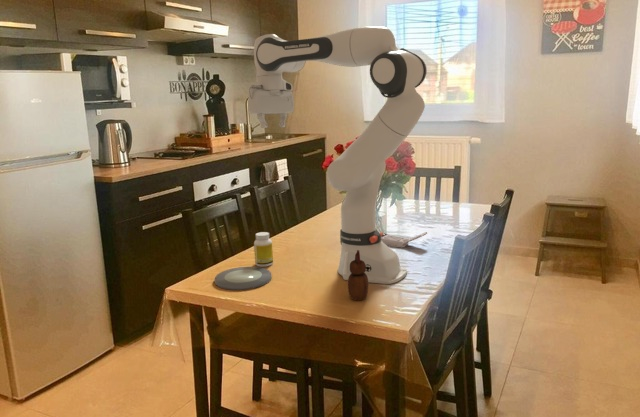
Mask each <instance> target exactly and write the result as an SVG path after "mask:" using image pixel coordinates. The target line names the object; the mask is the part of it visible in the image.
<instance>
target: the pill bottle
mask: <svg viewBox="0 0 640 417" xmlns="http://www.w3.org/2000/svg"><path fill="white" fill-rule="evenodd" d="M273 251H274V250H273V241H272V239H271V238H270V232H267V231H260V232H257V233H255V240H254V242H253V252H254V262H255V265H256V267H260V268H264V267H270V266H272V265H273V264H274V254H273Z"/></svg>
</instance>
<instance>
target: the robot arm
mask: <svg viewBox="0 0 640 417" xmlns="http://www.w3.org/2000/svg"><path fill="white" fill-rule="evenodd" d="M396 45H397V44H396V39H395V36H394V33H393V32H392V30H390V29H389V28H387V27H386V26H358V27H354V28H348V29H344V30H340V31H337V32H333V33H330V34H325V35H321V36H317V37H311V38H304V39H296V40H285V39H283V38H281V37H279V36H278V35H276V34H274V33H267V34H263V35H260V36H258V37H257V38H255V40H254V45H253V62H254V66H255V69H256V74H255V81H256V84H252V85H251V86H250V87H249V88H248V96H247V97H248V98H247V108H248V112H249V114H250V115H257V119H258V121H259V124H260V129H261V128H262V129H265V128H268V127H269V126H268V125H269V124H268V121H266V119H265V117H266V115H272V114H273V115H274V114H275V115H276V114H277V115H278V114H279V117H280V120H279V121H278V126H279V128H285V127H286V126H287V125H286V121H287V117H288V114H292V113H293V112H294V111H295V101H294V100H295V99H294V94H293V92H292V91H293V90H294V86H293V84H291V82H289V81H287V80H285V79H283V74H284V73H297V72H299V71H301V70H302V69H303V68H304V67H305V65H306V62H319V63H320V62H321V63H323V64H324V63H325V64H329V65H333V66H340V67H347V68H348V67H349V68H350V67H351V68H355V67H365V66H369V76H370V80H371V81H372V83H373V85H374V86H376V88H377V89H378V90H379V92H380V94H381V96H382V97H383V98H387V99H386V101H385V103H384V105H383V106H382V107H381V108H380V110H379V111H378V112H377V114H376V115H375V116H374V118H373V119H372V120H371V121H370V123H369V124H368V125H367V127H366V128H365V130H364V131H362V133H361V134H360V135H359V136H358V137H357V138H356V139H355V140H354V141H353V142H352V143H351V144H350V145H348V147H347V148H346V149H345V150H344V151H343V152H342V153H341V154H340V155H339V156H337V158H335V159H334V160H333V161H332V162H331V163H330V164H329V165H328V167H327V168H326V179H327V182H328V184H329V186H331V187H332V188H333V189H334V190H336V191H341V192H346V193H345V197H344V200H343V201H342V203H341V204H340V205H341V206H340V220H341V221H340V223H341V224H340V225H341V226H340V227H341V229H340V231H339V232H340V233H339V236H340V238H339V239H340V245H341V247H340V258H339V265H338V268H337V273H338V274H339V275H340V276H342V279H343V280H344V281H348V278H349V276H350V274H351V272H350V263H351V261H353V260H355V254H356V253H357V250H359V253H360V260H362V261H364V262H365V265H366V271H365V272H364V273H365V274H366V275H367V277H368V283H371V284H373V283H374V284H383V285H385V284H386V285H390V284H395V283H397V282H399V281H401V280H403V279H404V278H405V277H406V276H407V274H408V270H407V269H408V268H406V267H403V266H401V264H400V259H399V255H398V253H397V252H396V251H394V250H393V249H391V248H390V247H389V246H388V245H386V244H384V243H383V242H382V241H381V236H382V235H383V233H384V231H381V232H379V231H378V229H377V226H376V225H377V224H376V222H377V221H376V220H377V218H376V216H377V215H376V214H377V213H376V212H377V211H376V208H377V201H378V200H377V199H378V193H379V189H380V186H381V180H382V178H383V176H384V174H385V172H386V168H387V165H386V163H387V162H386V161H387V159H389V158H390V157H391V156H393V154H394V153H395V152H396V151H397V149H398V148H399V147H400V146H401V144H402V143H403V142H404V141H405V140H406V138H407V137H408V136H409V134H410V133H411V132H412V131H413V129H414V128H415V126H416V125H417V124H418V122H419V120H420V119H421V117H422V115H423V112H424V111H425V106H426V105H425V101H424V99H423V97H422V96H421V94H419V92H417V90H416V89H417V88H418V87H420V86H421V85H422V84H423V83H424V81H425V79H426V77H427V65H426V63H425V61H424V59H423V58H421V57H420V56H419V55H417V54H415V52H411V51H409V50H407V49H405V48H403V47H402V48H398V47H397V46H396Z"/></svg>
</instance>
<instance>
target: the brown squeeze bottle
mask: <svg viewBox="0 0 640 417" xmlns="http://www.w3.org/2000/svg"><path fill="white" fill-rule="evenodd" d="M365 271H366V265H365V262H364V261H362V260H360V253H359V250H357V253H356V254H355V260H353V261H351V263H350V272H351V274H350V276H349V278H348V280H347V292H348V295H349V296H350V298H351V299H352V300H353V301H362V300H364V299H366V298H367V295H368V292H369V282H368V277H367V275H366V274H365V273H364V272H365Z"/></svg>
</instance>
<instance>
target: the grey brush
mask: <svg viewBox="0 0 640 417" xmlns="http://www.w3.org/2000/svg"><path fill="white" fill-rule="evenodd" d="M384 234H385V235H382V236H381V241H382V242H383V243H384V244H386V245H387V246H388V247H389V246H390V247H397V248H404V247H405V246H407V245H408V244H409V243H410V242H413V241H414V240H417V239H420V238H422V237H424V236H426V235H427V234H428V232H427V231H426V232H423V233H420V234H418V235H416V236H414V237H411V238H408V237H402V236H397V235H396V236H395V235H390V234H388V233H384Z"/></svg>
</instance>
